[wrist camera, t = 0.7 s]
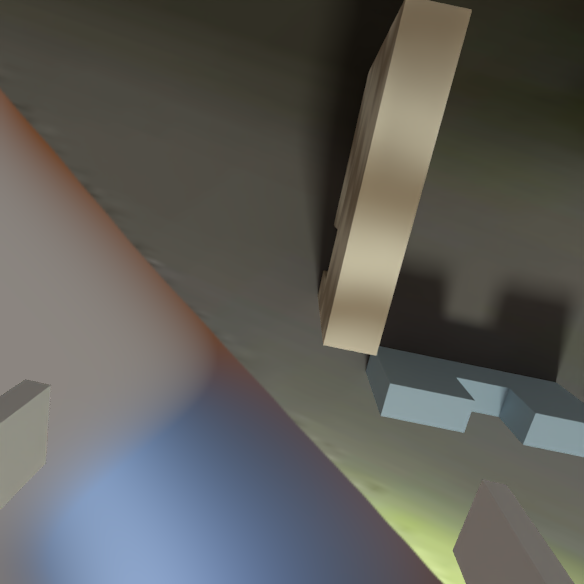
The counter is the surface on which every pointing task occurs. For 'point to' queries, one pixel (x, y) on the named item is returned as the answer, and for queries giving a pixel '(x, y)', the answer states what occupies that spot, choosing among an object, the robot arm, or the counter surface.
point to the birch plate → (388, 170)
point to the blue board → (475, 398)
